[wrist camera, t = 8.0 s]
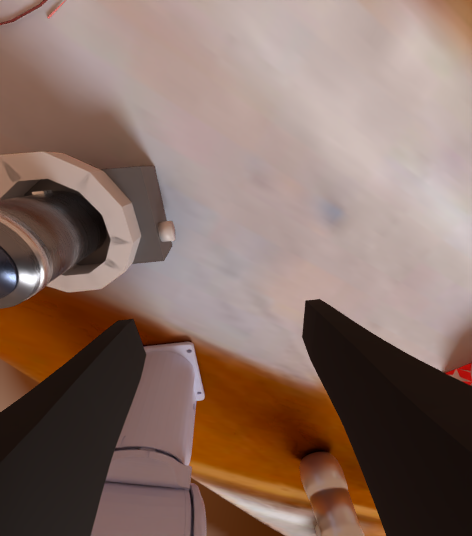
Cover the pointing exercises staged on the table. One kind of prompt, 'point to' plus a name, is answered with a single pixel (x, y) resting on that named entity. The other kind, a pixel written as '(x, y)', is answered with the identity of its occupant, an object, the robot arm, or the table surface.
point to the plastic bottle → (329, 495)
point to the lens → (44, 240)
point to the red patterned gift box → (463, 374)
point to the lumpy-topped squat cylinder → (317, 530)
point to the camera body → (106, 202)
